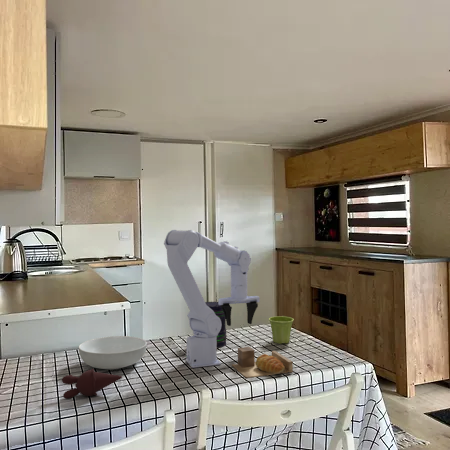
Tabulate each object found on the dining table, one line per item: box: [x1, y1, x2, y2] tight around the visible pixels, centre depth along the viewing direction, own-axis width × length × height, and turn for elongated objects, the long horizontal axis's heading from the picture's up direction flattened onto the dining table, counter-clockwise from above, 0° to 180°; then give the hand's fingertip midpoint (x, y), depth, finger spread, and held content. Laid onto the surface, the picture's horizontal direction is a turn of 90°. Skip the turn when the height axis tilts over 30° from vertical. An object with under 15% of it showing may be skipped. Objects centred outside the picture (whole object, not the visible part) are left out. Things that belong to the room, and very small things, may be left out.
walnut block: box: [237, 346, 256, 368], centre depth 136 cm, size 4×4×5 cm
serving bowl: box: [78, 335, 148, 371], centre depth 138 cm, size 21×21×7 cm
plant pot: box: [268, 315, 295, 345], centre depth 164 cm, size 9×9×9 cm
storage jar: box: [205, 301, 227, 348], centre depth 161 cm, size 10×10×15 cm
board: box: [231, 350, 294, 379], centre depth 133 cm, size 15×12×3 cm
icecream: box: [61, 368, 123, 400], centre depth 114 cm, size 7×7×15 cm
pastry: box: [255, 353, 285, 375], centre depth 131 cm, size 9×7×4 cm
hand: (239, 324), depth 150 cm, fingers open, 7 cm apart
